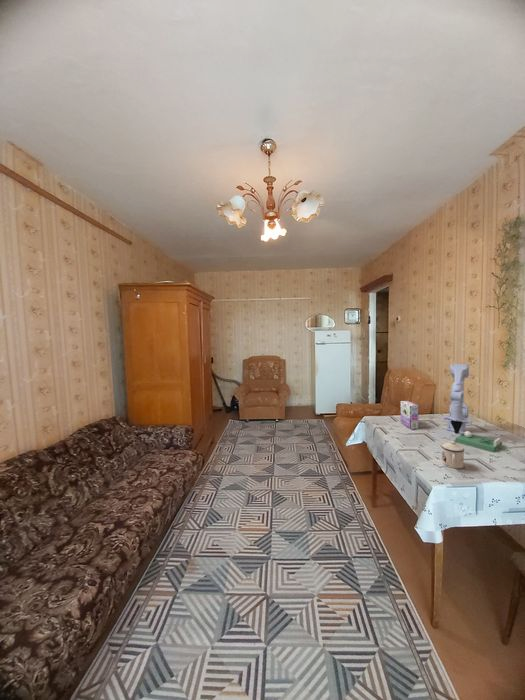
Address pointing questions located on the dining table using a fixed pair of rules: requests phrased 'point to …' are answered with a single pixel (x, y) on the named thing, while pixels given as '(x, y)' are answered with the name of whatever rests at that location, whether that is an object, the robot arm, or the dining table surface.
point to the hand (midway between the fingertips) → (456, 433)
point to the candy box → (409, 414)
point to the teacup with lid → (452, 455)
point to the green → (480, 442)
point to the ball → (468, 434)
